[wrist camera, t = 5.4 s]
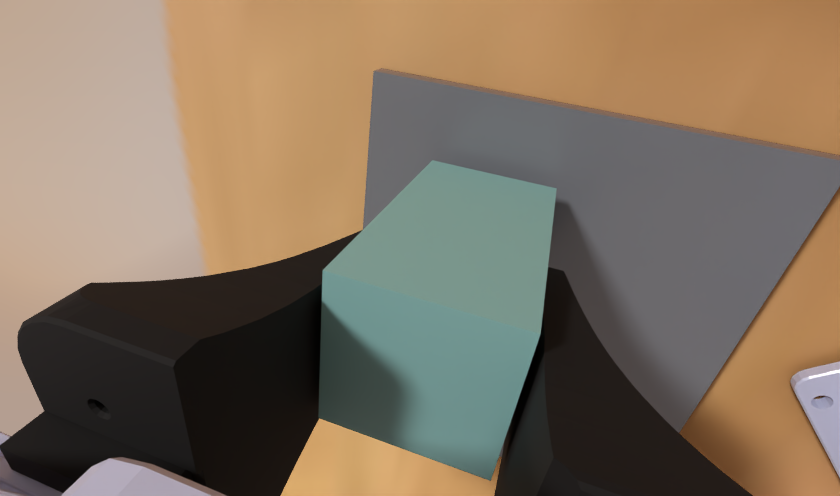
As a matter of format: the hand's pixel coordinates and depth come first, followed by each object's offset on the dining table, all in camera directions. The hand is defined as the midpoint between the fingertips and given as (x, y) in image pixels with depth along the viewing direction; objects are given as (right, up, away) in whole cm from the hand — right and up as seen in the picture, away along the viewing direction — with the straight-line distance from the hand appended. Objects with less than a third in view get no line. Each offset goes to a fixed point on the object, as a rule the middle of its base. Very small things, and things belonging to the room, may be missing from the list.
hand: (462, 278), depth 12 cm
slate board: (+3, -1, +4) cm, 5 cm away
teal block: (+1, +1, +2) cm, 2 cm away
